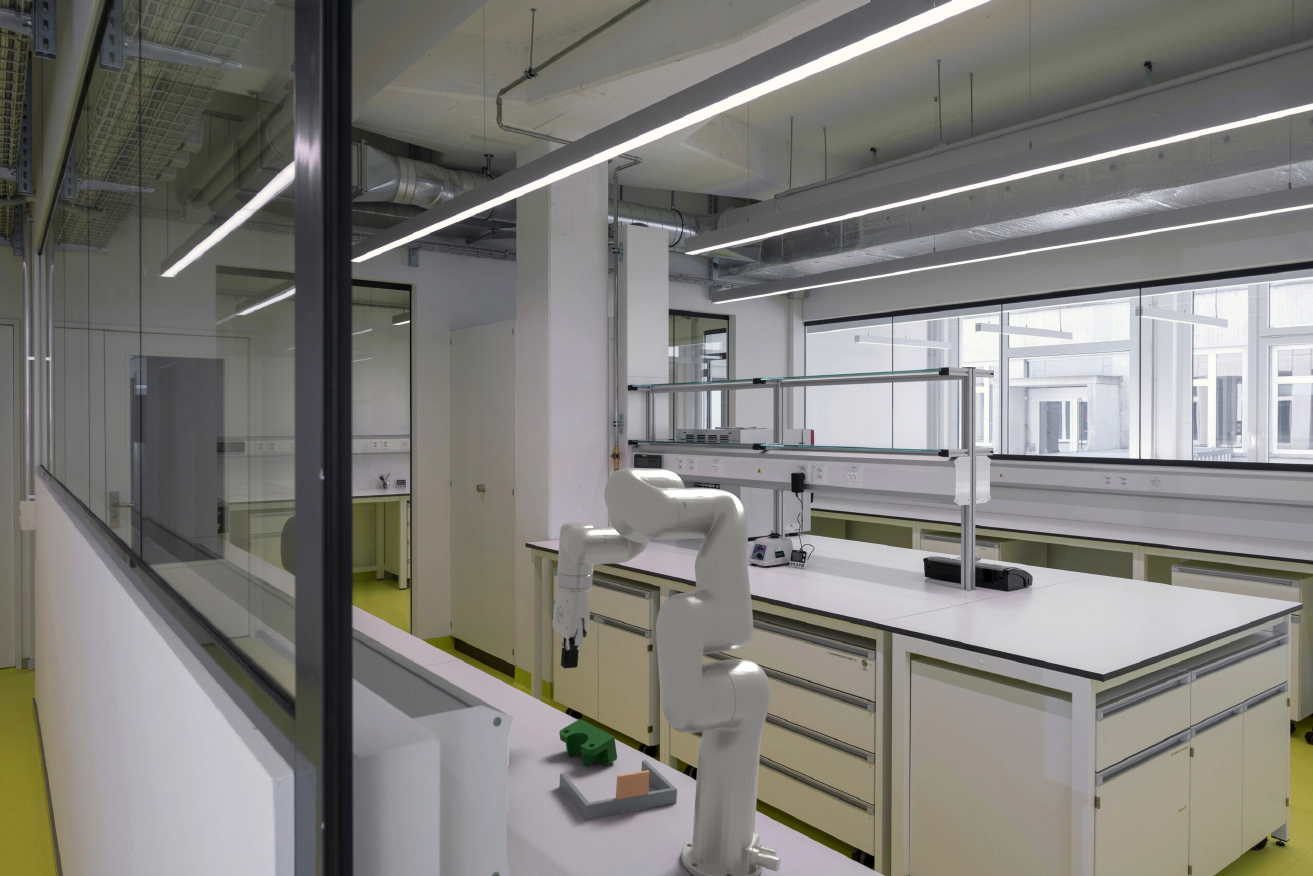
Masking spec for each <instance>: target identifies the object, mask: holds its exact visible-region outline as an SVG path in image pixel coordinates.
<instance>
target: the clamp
mask: <svg viewBox="0 0 1313 876" xmlns="http://www.w3.org/2000/svg"><path fill="white" fill-rule="evenodd" d="M558 734H559V738H560V739H559V740H560V741H562V742H563V743H565V747H566V754H567V757H568V759H571V758H572V757H574V756H577V755H580V754H581V760H582V766H583V767H584V766H585V767H584V768H586V766H587V767H589V766H590V765H591V764H593V763H595V762H596V761H598V760H599V762H600V761H601V762H600V763H602V762H603V763H602V764H604V763H605V764H606V766H609V765H611V764H612V763H613V762H615V761H617V759H618V753H617V745H616V738H615V736H614V735H612V734H610V733H608V732H606V731H604V730H602V729H600V728H598V727H596V726H595V725H592V724H591V723H588V722H586V721H585V720H583V719H581V718H580V719H579V718H578V720H576V721H574V722H572V723H569V724H568V725H567V726H565V727H563V728H561V729H560V730H559V733H558ZM570 757H571V758H570ZM605 764H604V765H605Z"/></svg>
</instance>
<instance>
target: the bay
mask: <svg viewBox="0 0 1313 876" xmlns="http://www.w3.org/2000/svg"><path fill="white" fill-rule="evenodd" d="M650 783H651V784H652V785H653V787H655V789H657V790H653V791H649V788H650ZM615 786H616V788H615V790H616V791H615V797H614V798H613V797H611V798H608V799H607V798H605V799H603V800H602V799H601V800H596V801H589V800H587V799H586V797H585V796H584V795H583V794H582V793H581V791H580V790H579V789H578V787H577V786H576V785H575V784H574V782H573V781H572V780H571V779H570V778H569V777H568V776H567V774H566V773H565V772H561V773H559V786H558V787H559V788H560V790H561V791H562V793H563V794H564V793H565V794H566V795H567V796H566V795H565V794H564V795H565V796H566V797H567V798H568V800H569V801H570V803H571V804H572V805H573V807H574V808H575V809H576V810H577V811H578V813H579V814H580V815H581V817H582V818H583V819H584V820H585V821H588V820H593V819H597V818H598V819H599V818H604V817H609V816H614V815H620V814H619V813H621V814H624V813H623V812H626V813H629V811H631V812H634V811H633V810H637V809H638V810H637V811H640V810H639V809H642V810H645V809H644V808H647V809H652V808H657V806H658V807H662V806H667V805H666V804H668V805H672V804H671V803H674V804H677V797H678V788H677V787H675V785H673V783H671V782H670V780H668V779H667V778H666V777H665V776H664V775H662V773H660V772H659V771H658V770H657V769H656V768H655V767H654V766H653V765H652V764H651V763H649V761H648V760H646V759H642V760H641V769H640V771H635V772H630V773H623V774H617V775H616V785H615ZM649 807H650V808H649ZM651 807H652V808H651Z"/></svg>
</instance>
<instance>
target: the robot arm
mask: <svg viewBox="0 0 1313 876" xmlns="http://www.w3.org/2000/svg"><path fill="white" fill-rule="evenodd" d="M603 494H604V495H603V496H604V502H605V505H606V507H607V509H608V511H609V512H608V515H609V516H608V517H609V521H610V524H611V526H594V525H593V524H591V523H587V522H580V521H570V522H564V523H563V524H562V525H561V526H560V529H559V541H558V543H559V544H558V559H557V560H558V561H557V573H556V575H557V576H556V592H555V598H554V606H553V614H552V624H551V625H552V628H553V629H554V630H555V631H556V632H557V633H558V634H560V635H561V658H560V666H561V667H562V668H563V669H574V668H575V669H576V668H577V667H578V664H579V650H580V646H583V645H584V638H587V636H588V635H589V630H590V615H591V611H590V609H591V608H590V607H591V601H590V599H591V598H590V597H591V596H590V591H591V590H593V576H594V566H595V565H606V564H607V565H609V564H623V563H626V562H629V561H631V560H633V559H634V558H637V556H639V555H640V554H642V553H643V552H644V551H645V550H646V548H647V547H648V545H649V542H650V539H651V540H656V541H657V540H658V541H669V540H670V541H671V540H690V539H691V540H692V539H704V541H703V542H702V544H701V546H700V548H699V550H698V552H697V555H696V558H695V561H694V562H695V563H694V575H695V591H689V592H680V593H676V594H673V595H671V596H669V597H668V598H666V599H665V600H664V602H663V603H662V605H661V606H660V608H659V610H658V613H657V616H656V622H655V638H656V652H657V653H656V655H657V665H658V678H659V688H660V689H659V690H660V699H661V705H662V710H663V714H664V716H665V718H666V721H667V722H668V724H669V725H670V727H671V728H672V729H674V730H675V731H676V732H679V733H682V734H693V733H699V732H703V733H702V735H701V738H700V741H699V746H698V752H697V770H696V781H695V782H696V783H695V799H694V800H695V801H694V813H693V815H694V816H693V817H694V818H693V828H692V829H693V830H692V831H693V832H692V833H693V834H692V838H691V839H689V840H688V841H687V842H686V843H684V845H683V846H682V849H681V861H682V864H683V866H684V868H685V869H687V871H688V872H689V873H690V874H692V875H693V876H759V875H760V874H761V873H762V870H763V868H765V869H766V870H770V871H773V872H777V873H778V872H779V870H780V865H781V857H777V849H775V848H771V847H766V846H763V844H761V843H760V833H757V832H756V831H755V830H756V829H755V828H756V813H757V799H758V784H759V783H758V782H759V770H760V769H759V767H760V757H761V745H762V737H763V730H764V726H765V723H766V719H767V715H768V711H769V707H770V701H771V685H770V680H769V678H768V676H767V674H766V672H765V671H764V669H763V668H762V667H761V666H760V665H758V664H757V663H755V662H754V661H751V660H749V659H743V658H741V659H740V658H734V659H733V658H732V659H731V658H729V659H723V660H715V661H711V662H710V661H709V662H707V663H706V662H705V663H703V655H709V654H715V653H723V652H728V651H729V652H730V651H733V650H738V649H741V648H744V647H745V646H747V645H748V644H749V643H750V641H751V640H752V637H753V635H754V634H753V633H754V617H753V607H752V605H753V603H752V595H751V584H750V576H749V575H750V574H749V573H750V572H749V568H748V545H749V544H748V542H749V541H748V539H749V520H748V515H747V511H746V508H745V506H744V505H743V503H742V502H741V500H740V499H739V498H738V497H737V496H736V495H734V494H733V493H731V492H729V491H727V490H723V489H720V488H719V489H718V488H710V487H709V488H708V487H685V484H684V481H683V480H682V479H681V477H680V475H677V473H676V472H673V471H672V470H668V469H666V468H652V467H651V468H650V467H649V468H648V467H647V468H645V467H623V468H620V469H617V470H615V471H614V472H613V473H612V474H611V475H610V476H609V477H608V480H606V483H605V486H604V493H603Z"/></svg>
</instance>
